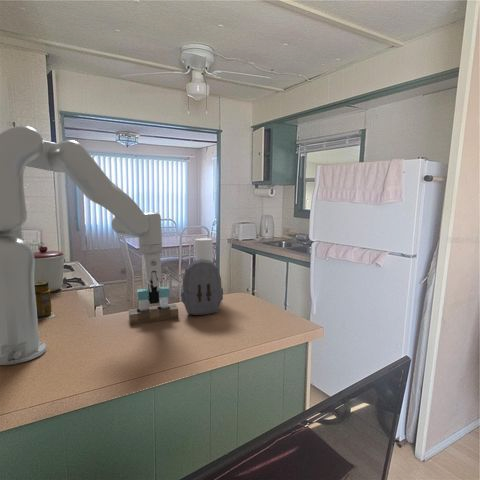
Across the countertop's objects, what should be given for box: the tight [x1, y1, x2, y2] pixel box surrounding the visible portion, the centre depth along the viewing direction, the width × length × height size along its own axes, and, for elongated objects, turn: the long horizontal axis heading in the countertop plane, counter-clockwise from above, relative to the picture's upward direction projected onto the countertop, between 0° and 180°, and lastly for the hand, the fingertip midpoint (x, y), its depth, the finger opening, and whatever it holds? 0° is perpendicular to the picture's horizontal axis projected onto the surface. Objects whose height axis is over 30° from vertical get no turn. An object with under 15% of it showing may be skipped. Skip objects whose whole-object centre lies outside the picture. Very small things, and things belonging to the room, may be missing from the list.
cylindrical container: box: [194, 237, 214, 263], centre depth 141 cm, size 7×7×25 cm
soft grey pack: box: [180, 259, 224, 316], centre depth 121 cm, size 15×8×20 cm, turn 105°
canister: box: [33, 245, 66, 293], centre depth 159 cm, size 18×18×21 cm
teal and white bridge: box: [136, 286, 170, 312], centre depth 117 cm, size 3×10×8 cm, turn 111°
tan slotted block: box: [128, 303, 180, 326], centre depth 118 cm, size 6×16×4 cm, turn 111°
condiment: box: [34, 282, 57, 321], centre depth 122 cm, size 7×8×12 cm
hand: (153, 301), depth 118 cm, fingers closed on teal and white bridge, 3 cm apart
